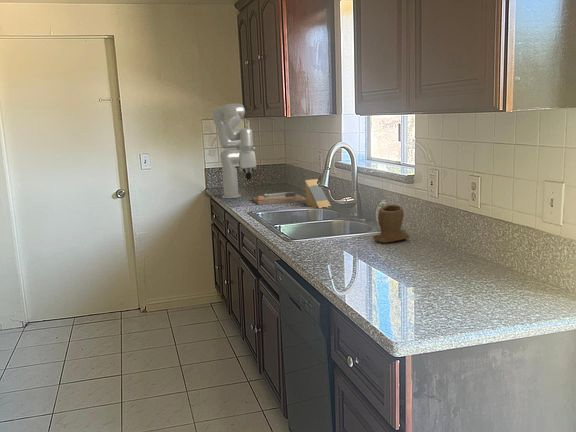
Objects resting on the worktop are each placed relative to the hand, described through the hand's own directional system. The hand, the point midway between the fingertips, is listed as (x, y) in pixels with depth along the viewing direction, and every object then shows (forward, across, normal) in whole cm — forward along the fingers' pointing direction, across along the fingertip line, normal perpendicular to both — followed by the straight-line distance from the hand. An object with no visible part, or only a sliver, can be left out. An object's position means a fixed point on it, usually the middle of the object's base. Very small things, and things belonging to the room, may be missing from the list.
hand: (248, 179), depth 350 cm
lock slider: (+13, -7, 0) cm, 15 cm away
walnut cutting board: (+15, -19, -3) cm, 24 cm away
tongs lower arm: (+13, -18, -3) cm, 23 cm away
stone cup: (+15, -31, +131) cm, 135 cm away
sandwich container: (+15, -34, +30) cm, 48 cm away
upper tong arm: (+12, -20, -3) cm, 23 cm away
